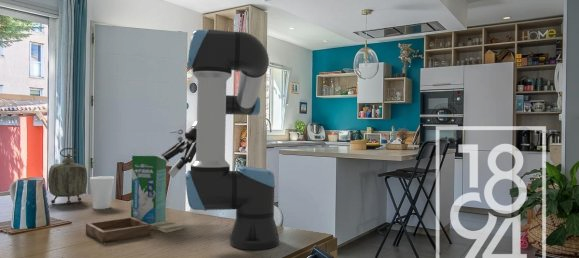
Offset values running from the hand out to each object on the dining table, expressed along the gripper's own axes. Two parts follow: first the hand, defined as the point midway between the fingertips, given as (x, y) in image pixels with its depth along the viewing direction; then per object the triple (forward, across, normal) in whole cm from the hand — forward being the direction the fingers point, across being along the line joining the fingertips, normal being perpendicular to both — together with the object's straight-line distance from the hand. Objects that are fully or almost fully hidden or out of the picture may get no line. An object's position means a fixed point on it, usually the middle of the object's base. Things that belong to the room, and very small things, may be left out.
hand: (162, 173), depth 152 cm
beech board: (+16, -12, -9) cm, 22 cm away
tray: (+26, -10, +2) cm, 29 cm away
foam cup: (+19, +38, -6) cm, 43 cm away
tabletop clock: (+25, +56, 0) cm, 62 cm away
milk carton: (+17, -1, -9) cm, 19 cm away
